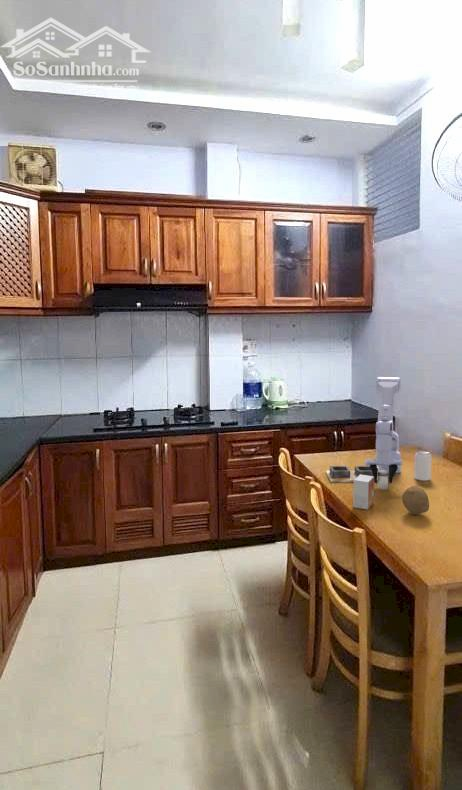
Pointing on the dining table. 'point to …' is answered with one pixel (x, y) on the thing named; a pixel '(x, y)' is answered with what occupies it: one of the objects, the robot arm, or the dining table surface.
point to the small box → (363, 492)
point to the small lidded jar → (383, 479)
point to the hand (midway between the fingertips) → (382, 482)
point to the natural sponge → (415, 500)
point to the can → (422, 465)
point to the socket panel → (347, 473)
